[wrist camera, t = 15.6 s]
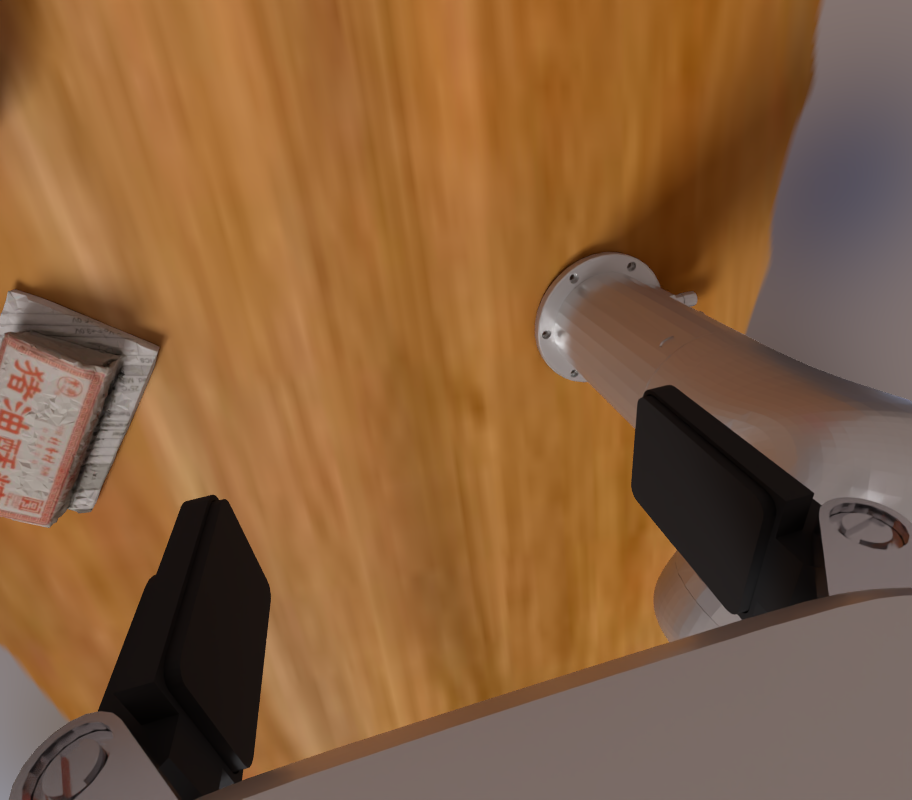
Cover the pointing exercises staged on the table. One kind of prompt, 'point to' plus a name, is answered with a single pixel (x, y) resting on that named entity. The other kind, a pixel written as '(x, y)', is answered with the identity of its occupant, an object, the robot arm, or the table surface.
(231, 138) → the table surface
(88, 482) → the packaged product
